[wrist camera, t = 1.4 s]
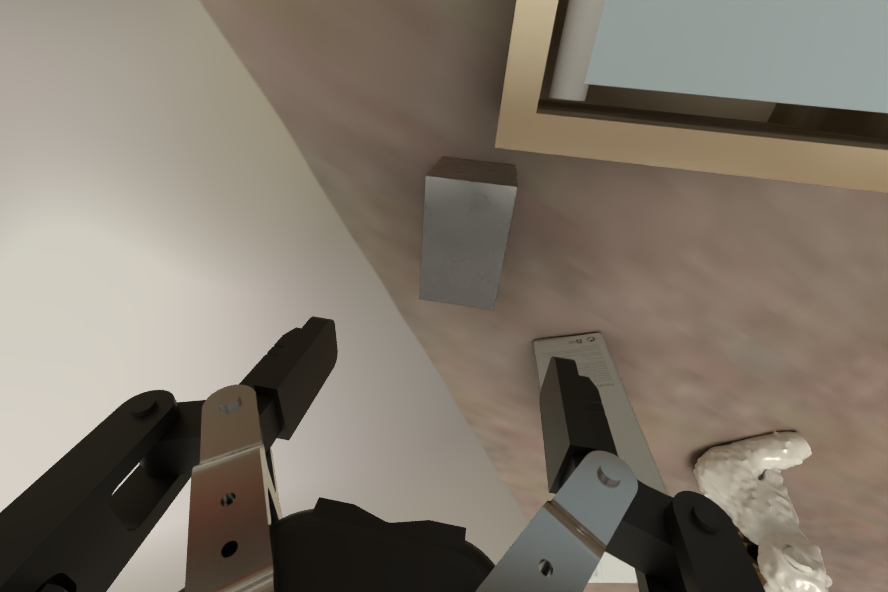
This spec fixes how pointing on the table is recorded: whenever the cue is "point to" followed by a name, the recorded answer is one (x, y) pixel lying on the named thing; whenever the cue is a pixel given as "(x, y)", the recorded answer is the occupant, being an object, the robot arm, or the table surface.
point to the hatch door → (729, 50)
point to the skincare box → (621, 420)
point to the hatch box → (679, 122)
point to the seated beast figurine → (765, 506)
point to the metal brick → (465, 230)
